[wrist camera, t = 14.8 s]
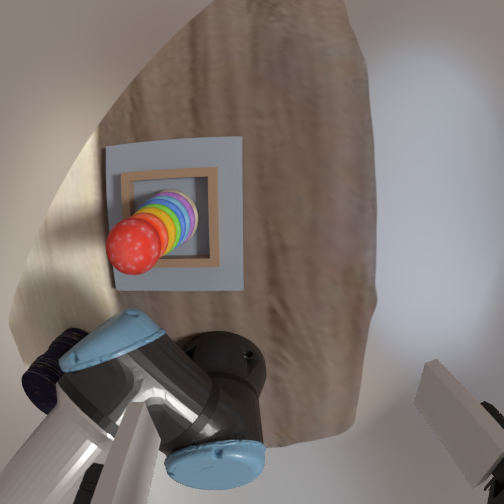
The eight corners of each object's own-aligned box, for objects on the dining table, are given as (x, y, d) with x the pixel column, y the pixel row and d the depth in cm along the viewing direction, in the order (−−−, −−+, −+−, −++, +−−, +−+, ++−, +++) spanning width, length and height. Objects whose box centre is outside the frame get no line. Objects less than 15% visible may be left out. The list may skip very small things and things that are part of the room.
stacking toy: (134, 216, 40) (66, 245, 21) (173, 177, 39) (122, 177, 20) (170, 256, 41) (126, 311, 23) (210, 219, 40) (189, 251, 22)
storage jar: (53, 328, 45) (11, 369, 30) (91, 324, 45) (51, 371, 30) (73, 371, 47) (40, 417, 33) (111, 370, 47) (82, 422, 33)
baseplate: (243, 287, 44) (243, 295, 41) (119, 287, 43) (111, 294, 40) (242, 137, 39) (242, 134, 36) (109, 147, 38) (100, 145, 35)
